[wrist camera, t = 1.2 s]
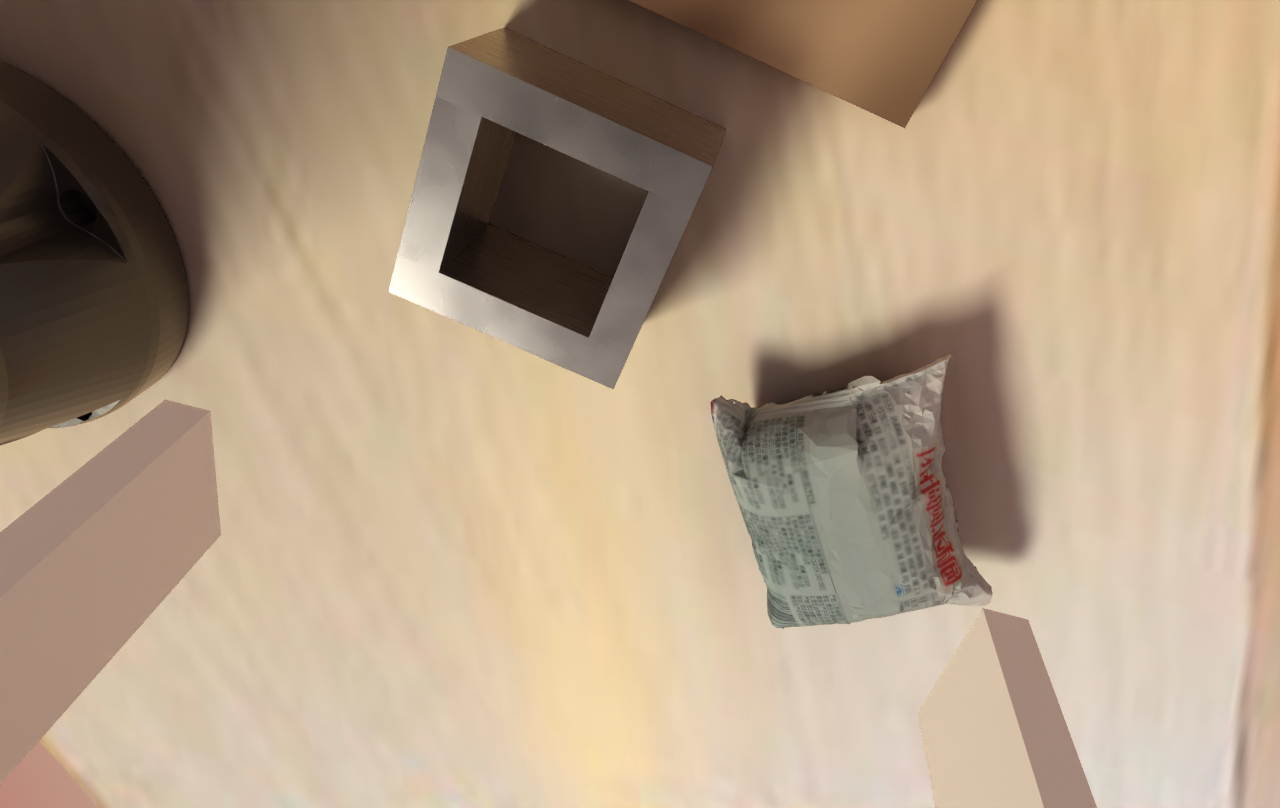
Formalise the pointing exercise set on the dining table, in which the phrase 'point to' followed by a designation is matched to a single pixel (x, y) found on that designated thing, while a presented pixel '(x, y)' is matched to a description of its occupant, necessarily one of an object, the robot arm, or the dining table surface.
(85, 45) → the dining table surface
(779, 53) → the stand
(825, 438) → the packaged food
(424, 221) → the link
